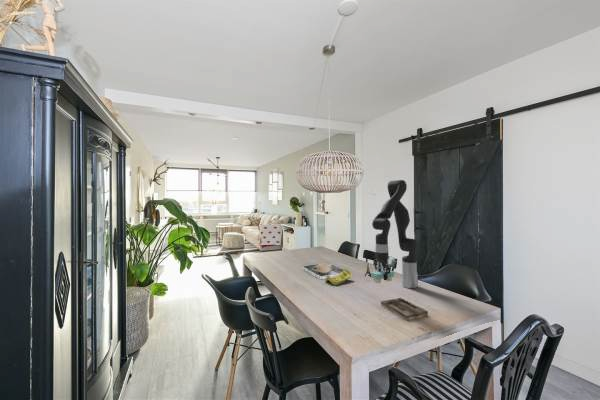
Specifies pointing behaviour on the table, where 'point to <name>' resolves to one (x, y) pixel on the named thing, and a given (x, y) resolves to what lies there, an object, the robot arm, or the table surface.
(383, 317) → the table surface
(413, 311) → the slot board
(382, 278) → the panel
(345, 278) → the plastic component
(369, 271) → the eiffel tower figurine
